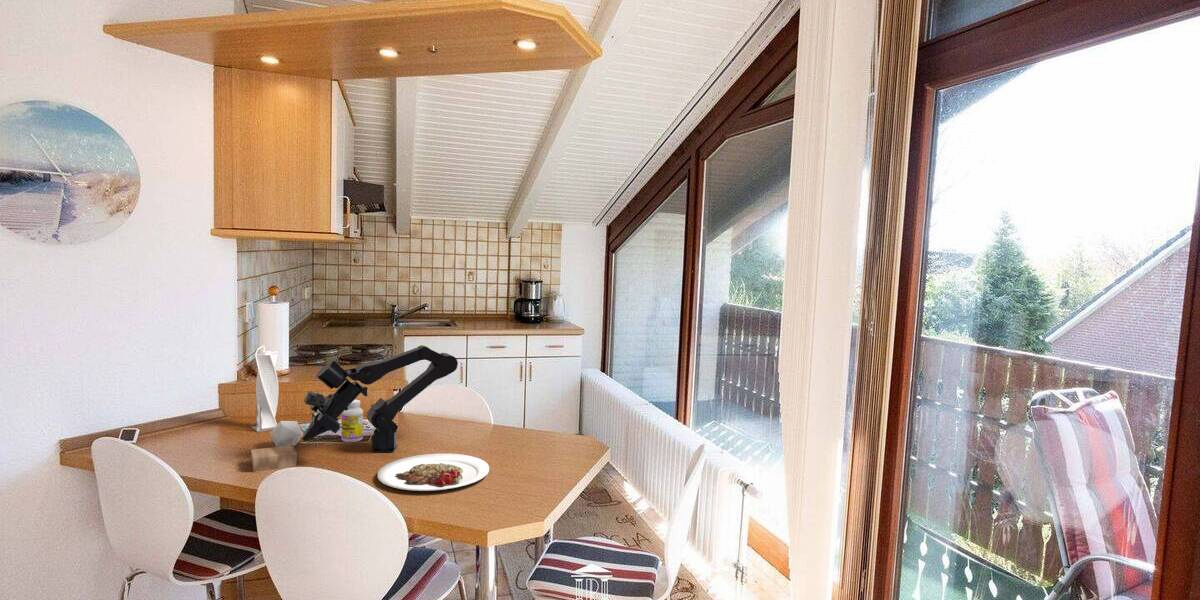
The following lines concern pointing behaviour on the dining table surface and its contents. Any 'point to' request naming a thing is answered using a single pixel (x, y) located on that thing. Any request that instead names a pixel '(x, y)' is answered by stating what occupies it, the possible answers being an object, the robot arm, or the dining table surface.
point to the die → (286, 433)
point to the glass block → (273, 458)
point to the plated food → (433, 472)
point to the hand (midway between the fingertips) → (303, 439)
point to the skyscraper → (266, 390)
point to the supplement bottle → (352, 423)
